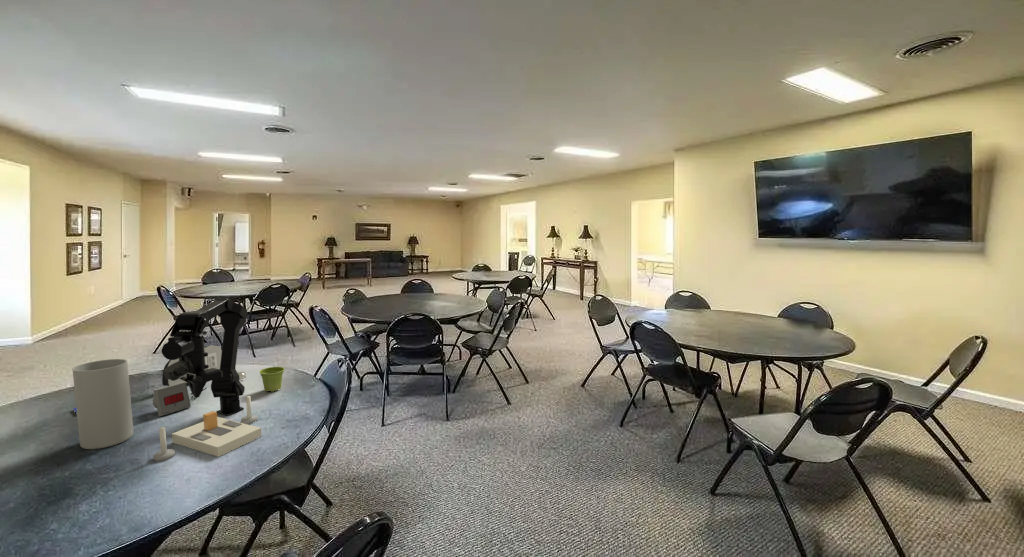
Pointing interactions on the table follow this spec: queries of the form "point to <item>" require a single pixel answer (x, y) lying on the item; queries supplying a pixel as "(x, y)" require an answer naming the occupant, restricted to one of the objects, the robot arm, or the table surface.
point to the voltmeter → (172, 398)
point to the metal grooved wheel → (241, 375)
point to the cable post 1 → (163, 448)
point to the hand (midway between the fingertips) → (196, 397)
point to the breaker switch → (210, 420)
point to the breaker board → (217, 436)
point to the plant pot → (272, 378)
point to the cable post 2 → (249, 413)
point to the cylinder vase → (103, 403)
